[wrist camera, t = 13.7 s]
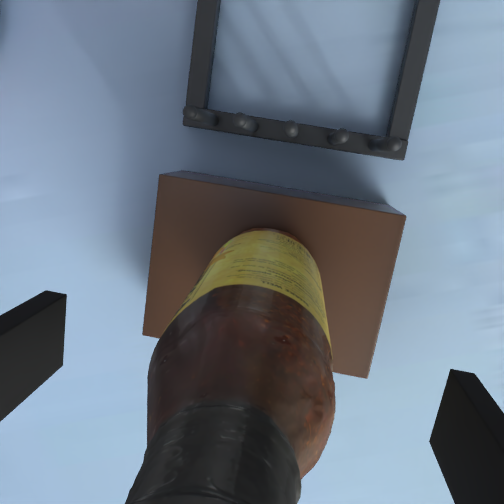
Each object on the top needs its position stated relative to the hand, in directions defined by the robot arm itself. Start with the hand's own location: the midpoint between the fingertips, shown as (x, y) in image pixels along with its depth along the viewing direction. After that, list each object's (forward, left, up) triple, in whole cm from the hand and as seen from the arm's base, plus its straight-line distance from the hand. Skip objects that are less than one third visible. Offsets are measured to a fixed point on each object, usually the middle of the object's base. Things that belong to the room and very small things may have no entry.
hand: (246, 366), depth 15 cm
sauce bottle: (0, 0, -12) cm, 12 cm away
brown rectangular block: (0, 0, -16) cm, 16 cm away
